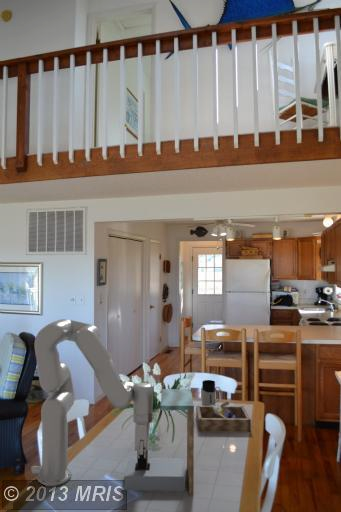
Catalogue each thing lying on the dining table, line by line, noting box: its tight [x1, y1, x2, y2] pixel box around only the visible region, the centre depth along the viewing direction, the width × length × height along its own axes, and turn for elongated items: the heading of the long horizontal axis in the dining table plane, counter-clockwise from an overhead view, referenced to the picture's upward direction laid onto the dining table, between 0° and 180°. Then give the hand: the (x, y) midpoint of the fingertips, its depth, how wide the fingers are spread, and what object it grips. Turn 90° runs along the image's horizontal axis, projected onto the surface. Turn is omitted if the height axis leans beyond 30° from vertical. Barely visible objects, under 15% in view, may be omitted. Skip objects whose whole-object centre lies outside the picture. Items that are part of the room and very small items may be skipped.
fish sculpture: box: [211, 401, 236, 418], centre depth 204 cm, size 12×20×15 cm
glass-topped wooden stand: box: [160, 388, 195, 496], centre depth 150 cm, size 12×20×32 cm, turn 0°
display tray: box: [195, 405, 252, 433], centre depth 205 cm, size 26×20×6 cm
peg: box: [136, 448, 149, 470], centre depth 149 cm, size 4×4×10 cm
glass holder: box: [201, 379, 222, 406], centre depth 228 cm, size 9×14×15 cm, turn 38°
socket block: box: [124, 457, 186, 492], centre depth 149 cm, size 22×14×5 cm, turn 90°
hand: (142, 464), depth 149 cm, fingers open, 4 cm apart
